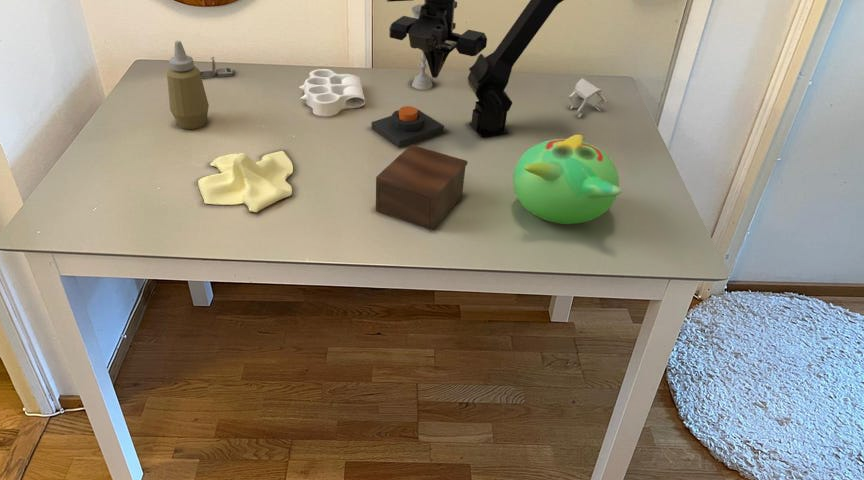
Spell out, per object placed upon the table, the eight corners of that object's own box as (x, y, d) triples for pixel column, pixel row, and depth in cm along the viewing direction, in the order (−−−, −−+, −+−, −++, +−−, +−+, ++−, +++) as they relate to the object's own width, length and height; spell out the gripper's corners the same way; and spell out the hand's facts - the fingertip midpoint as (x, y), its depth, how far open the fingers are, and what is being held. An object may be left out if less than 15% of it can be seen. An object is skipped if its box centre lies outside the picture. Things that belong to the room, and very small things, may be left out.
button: (409, 111, 147) (410, 104, 146) (421, 119, 145) (421, 111, 144) (394, 116, 146) (395, 109, 144) (406, 124, 143) (406, 116, 142)
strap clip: (232, 71, 169) (230, 54, 166) (233, 76, 167) (231, 59, 164) (197, 74, 167) (194, 57, 164) (197, 79, 165) (195, 62, 162)
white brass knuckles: (366, 115, 152) (300, 118, 151) (358, 80, 166) (297, 82, 164) (366, 101, 150) (299, 104, 149) (358, 67, 164) (297, 69, 162)
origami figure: (610, 117, 154) (615, 97, 151) (574, 119, 153) (579, 98, 150) (590, 93, 163) (594, 74, 160) (556, 95, 162) (560, 75, 159)
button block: (415, 114, 153) (416, 100, 151) (443, 132, 147) (445, 118, 145) (371, 129, 148) (371, 114, 145) (399, 148, 141) (399, 133, 139)
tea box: (407, 178, 133) (409, 149, 128) (462, 196, 128) (465, 166, 124) (375, 210, 124) (375, 180, 120) (432, 230, 120) (435, 200, 116)
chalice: (409, 77, 168) (413, 3, 156) (437, 79, 167) (443, 5, 156) (406, 90, 162) (409, 14, 151) (434, 92, 162) (440, 16, 150)
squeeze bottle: (184, 136, 144) (169, 53, 132) (166, 122, 148) (149, 40, 137) (218, 124, 148) (206, 43, 136) (199, 111, 152) (186, 31, 141)
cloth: (281, 217, 122) (278, 188, 118) (181, 206, 124) (175, 177, 120) (310, 154, 139) (309, 127, 135) (223, 145, 141) (219, 118, 137)
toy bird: (607, 197, 129) (627, 127, 120) (609, 251, 116) (631, 177, 107) (512, 183, 132) (523, 114, 122) (503, 234, 119) (515, 162, 110)
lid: (411, 148, 129) (411, 144, 129) (467, 164, 125) (467, 160, 124) (375, 180, 120) (375, 176, 119) (435, 199, 116) (435, 196, 115)
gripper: (375, 2, 127) (375, 81, 137) (467, 21, 120) (460, 103, 130) (403, -15, 134) (401, 61, 144) (492, 2, 127) (483, 81, 137)
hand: (435, 77), depth 138 cm, fingers closed
